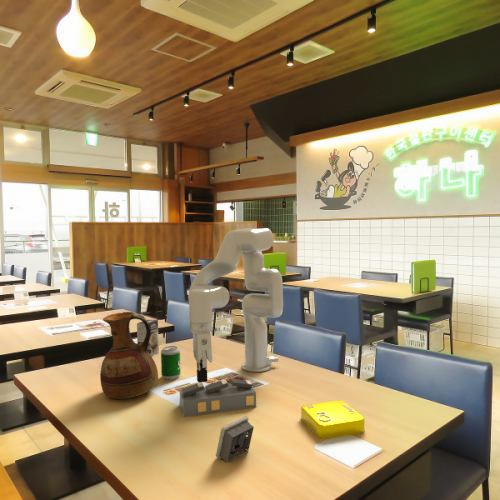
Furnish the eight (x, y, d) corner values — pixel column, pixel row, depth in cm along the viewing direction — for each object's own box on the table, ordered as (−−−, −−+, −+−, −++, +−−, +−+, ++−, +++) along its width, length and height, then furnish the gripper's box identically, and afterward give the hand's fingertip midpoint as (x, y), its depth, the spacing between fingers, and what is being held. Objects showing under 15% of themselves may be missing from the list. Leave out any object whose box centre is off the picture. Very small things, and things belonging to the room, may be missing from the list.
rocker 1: (202, 385, 143) (201, 381, 143) (204, 389, 139) (203, 385, 139) (182, 392, 141) (181, 388, 141) (183, 396, 137) (182, 392, 137)
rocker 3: (248, 384, 147) (249, 380, 147) (251, 388, 144) (252, 384, 144) (229, 381, 145) (230, 377, 145) (232, 385, 142) (233, 381, 142)
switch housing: (247, 395, 151) (247, 380, 150) (256, 407, 141) (256, 390, 141) (179, 404, 144) (179, 388, 144) (184, 417, 134) (183, 400, 134)
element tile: (367, 433, 123) (367, 417, 122) (319, 441, 118) (319, 424, 118) (342, 412, 137) (342, 397, 137) (299, 418, 133) (298, 403, 133)
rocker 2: (225, 382, 145) (224, 378, 145) (228, 386, 141) (227, 382, 141) (206, 389, 143) (205, 385, 143) (208, 393, 139) (207, 389, 139)
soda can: (176, 381, 166) (175, 351, 166) (158, 380, 168) (157, 350, 167) (183, 374, 174) (182, 345, 173) (166, 373, 175) (165, 345, 175)
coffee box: (149, 358, 197) (148, 323, 196) (137, 357, 199) (136, 323, 198) (159, 352, 206) (158, 319, 205) (147, 351, 208) (146, 318, 207)
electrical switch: (240, 445, 116) (242, 413, 115) (254, 453, 113) (256, 420, 112) (215, 459, 110) (216, 425, 109) (228, 468, 106) (230, 433, 105)
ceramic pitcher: (99, 388, 160) (96, 309, 158) (153, 380, 168) (150, 305, 166) (103, 408, 142) (100, 319, 140) (163, 398, 150) (161, 314, 148)
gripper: (217, 330, 134) (218, 387, 134) (208, 321, 148) (209, 372, 149) (193, 332, 132) (194, 390, 132) (186, 322, 146) (187, 375, 147)
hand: (202, 381), depth 141 cm, fingers closed
